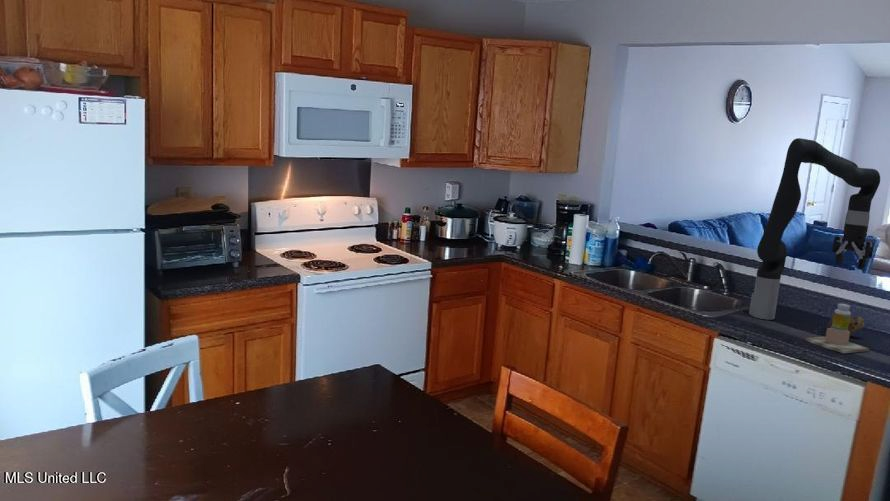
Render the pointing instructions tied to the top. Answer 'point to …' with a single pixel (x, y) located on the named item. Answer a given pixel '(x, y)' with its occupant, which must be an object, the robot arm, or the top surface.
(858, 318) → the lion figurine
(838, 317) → the supplement bottle
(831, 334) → the terracotta block
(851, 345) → the pale green flat slab
